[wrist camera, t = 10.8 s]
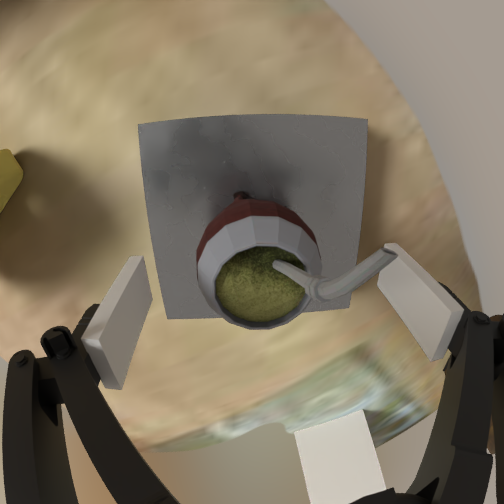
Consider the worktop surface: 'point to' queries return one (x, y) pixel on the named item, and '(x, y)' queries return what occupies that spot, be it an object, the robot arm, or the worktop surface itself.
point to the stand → (250, 189)
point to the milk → (339, 460)
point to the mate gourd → (269, 265)
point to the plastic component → (8, 176)
